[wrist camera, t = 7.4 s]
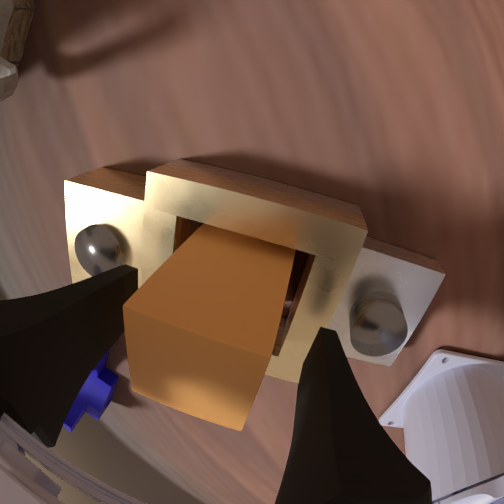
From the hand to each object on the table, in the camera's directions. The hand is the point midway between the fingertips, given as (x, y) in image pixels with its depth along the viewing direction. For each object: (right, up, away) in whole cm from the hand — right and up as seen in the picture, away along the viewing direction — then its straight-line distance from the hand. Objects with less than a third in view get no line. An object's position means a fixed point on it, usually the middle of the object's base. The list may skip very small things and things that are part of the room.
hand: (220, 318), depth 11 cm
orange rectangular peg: (+1, +2, +4) cm, 5 cm away
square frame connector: (+1, +2, +4) cm, 5 cm away
